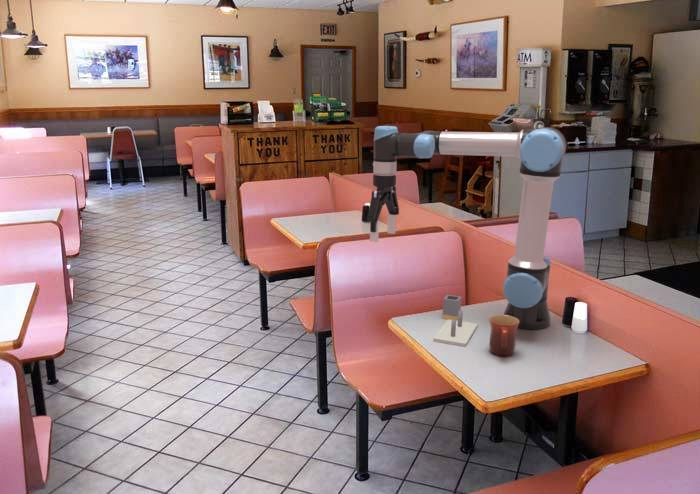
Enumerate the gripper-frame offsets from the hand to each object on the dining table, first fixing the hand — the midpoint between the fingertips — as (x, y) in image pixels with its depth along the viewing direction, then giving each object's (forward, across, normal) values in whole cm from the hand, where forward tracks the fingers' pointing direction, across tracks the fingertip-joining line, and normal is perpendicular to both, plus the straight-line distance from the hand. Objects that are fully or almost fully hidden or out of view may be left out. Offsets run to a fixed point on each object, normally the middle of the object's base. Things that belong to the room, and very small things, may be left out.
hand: (382, 237), depth 213 cm
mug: (+27, +14, +46) cm, 55 cm away
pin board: (+27, +5, +29) cm, 40 cm away
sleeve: (+27, -8, +23) cm, 36 cm away
